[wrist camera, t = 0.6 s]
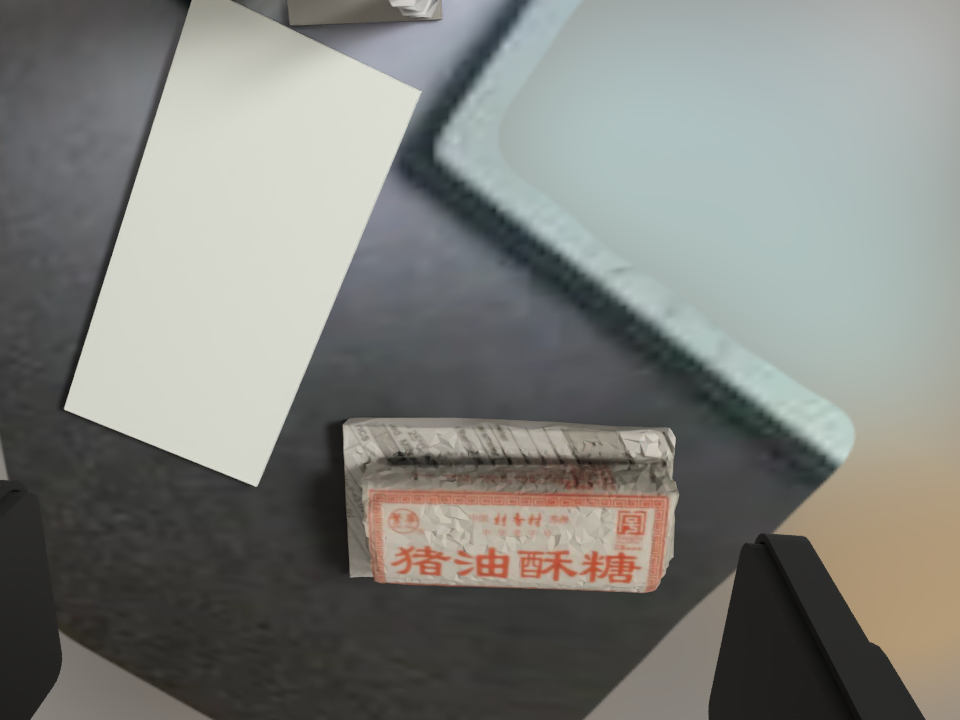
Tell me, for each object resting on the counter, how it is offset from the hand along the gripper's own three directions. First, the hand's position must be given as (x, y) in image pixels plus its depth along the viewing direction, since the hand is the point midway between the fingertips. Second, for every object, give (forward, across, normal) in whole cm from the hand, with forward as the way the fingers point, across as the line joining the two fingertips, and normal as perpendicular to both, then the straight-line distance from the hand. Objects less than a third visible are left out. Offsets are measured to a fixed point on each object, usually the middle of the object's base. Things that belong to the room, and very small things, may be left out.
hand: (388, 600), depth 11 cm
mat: (+32, +12, +4) cm, 34 cm away
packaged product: (+32, -3, +17) cm, 37 cm away
